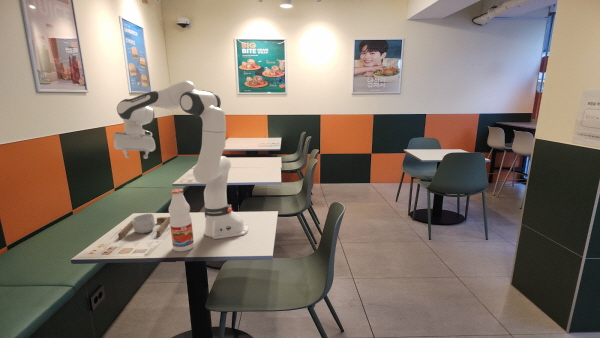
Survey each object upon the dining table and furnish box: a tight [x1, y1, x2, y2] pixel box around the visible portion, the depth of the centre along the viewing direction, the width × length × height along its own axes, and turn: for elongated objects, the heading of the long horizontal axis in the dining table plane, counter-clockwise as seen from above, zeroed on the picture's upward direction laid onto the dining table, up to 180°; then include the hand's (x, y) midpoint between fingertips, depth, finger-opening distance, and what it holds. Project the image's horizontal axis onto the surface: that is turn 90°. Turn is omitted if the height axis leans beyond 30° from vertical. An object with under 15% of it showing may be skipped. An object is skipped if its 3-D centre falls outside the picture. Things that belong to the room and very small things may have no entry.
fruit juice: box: [168, 188, 195, 253], centre depth 152 cm, size 9×9×28 cm
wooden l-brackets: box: [117, 216, 171, 240], centre depth 177 cm, size 20×20×3 cm
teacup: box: [130, 212, 156, 234], centre depth 176 cm, size 14×11×8 cm
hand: (136, 157), depth 174 cm, fingers open, 8 cm apart
